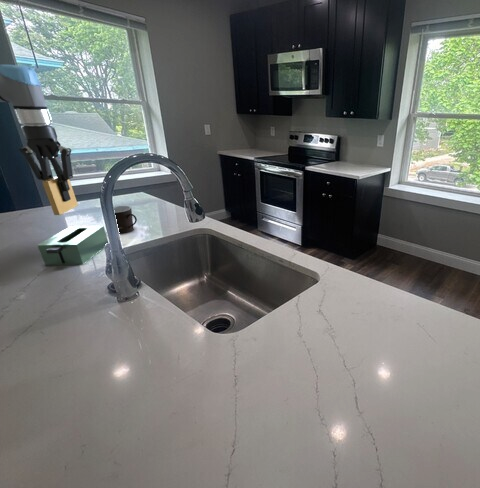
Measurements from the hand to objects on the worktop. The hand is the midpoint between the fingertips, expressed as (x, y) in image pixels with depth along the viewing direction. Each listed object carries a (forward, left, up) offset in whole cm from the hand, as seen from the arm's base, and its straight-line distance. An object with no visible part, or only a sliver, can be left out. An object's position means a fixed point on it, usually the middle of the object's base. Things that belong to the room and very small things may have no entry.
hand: (63, 200), depth 99 cm
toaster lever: (+2, -14, -12) cm, 19 cm away
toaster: (+2, -5, -19) cm, 19 cm away
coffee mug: (+8, +15, -19) cm, 26 cm away
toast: (0, 0, -3) cm, 3 cm away
